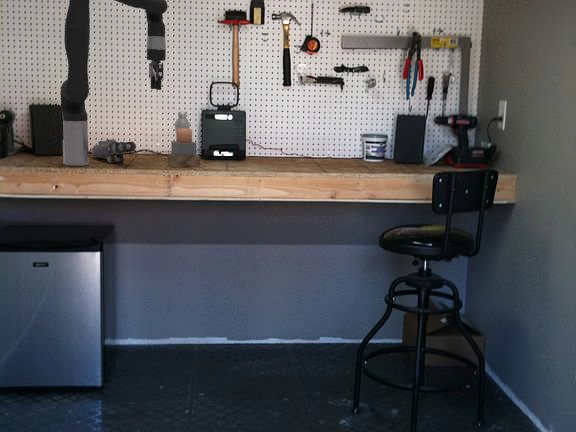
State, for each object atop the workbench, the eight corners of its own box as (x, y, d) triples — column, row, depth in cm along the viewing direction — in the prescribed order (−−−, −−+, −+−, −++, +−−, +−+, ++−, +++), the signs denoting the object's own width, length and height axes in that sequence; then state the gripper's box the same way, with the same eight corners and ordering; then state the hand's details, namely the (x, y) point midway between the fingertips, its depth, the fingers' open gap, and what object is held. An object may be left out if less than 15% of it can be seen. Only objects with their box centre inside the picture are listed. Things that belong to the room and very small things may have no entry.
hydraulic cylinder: (122, 161, 293) (120, 136, 293) (87, 166, 323) (85, 142, 323) (139, 161, 298) (137, 135, 297) (103, 165, 327) (101, 142, 327)
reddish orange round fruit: (179, 142, 297) (179, 129, 297) (175, 141, 303) (175, 128, 302) (193, 142, 300) (194, 129, 299) (189, 141, 305) (189, 128, 304)
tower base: (175, 168, 297) (175, 156, 296) (167, 165, 306) (167, 153, 305) (199, 168, 301) (199, 155, 300) (191, 165, 310) (191, 152, 309)
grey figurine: (182, 160, 322) (182, 112, 318) (171, 158, 326) (171, 111, 322) (193, 159, 327) (193, 112, 323) (182, 157, 331) (182, 111, 327)
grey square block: (176, 155, 297) (176, 143, 296) (171, 153, 304) (171, 141, 303) (196, 155, 300) (196, 142, 299) (190, 153, 307) (190, 140, 306)
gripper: (142, 48, 309) (142, 88, 312) (151, 47, 296) (150, 89, 299) (161, 49, 312) (160, 89, 315) (170, 48, 299) (169, 90, 302)
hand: (155, 89), depth 307 cm, fingers open, 8 cm apart
